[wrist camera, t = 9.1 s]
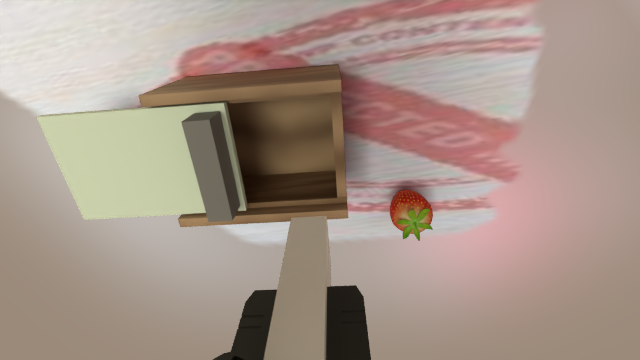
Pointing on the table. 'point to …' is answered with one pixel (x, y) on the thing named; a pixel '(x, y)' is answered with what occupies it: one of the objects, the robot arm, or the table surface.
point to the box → (276, 139)
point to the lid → (149, 160)
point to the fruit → (411, 213)
